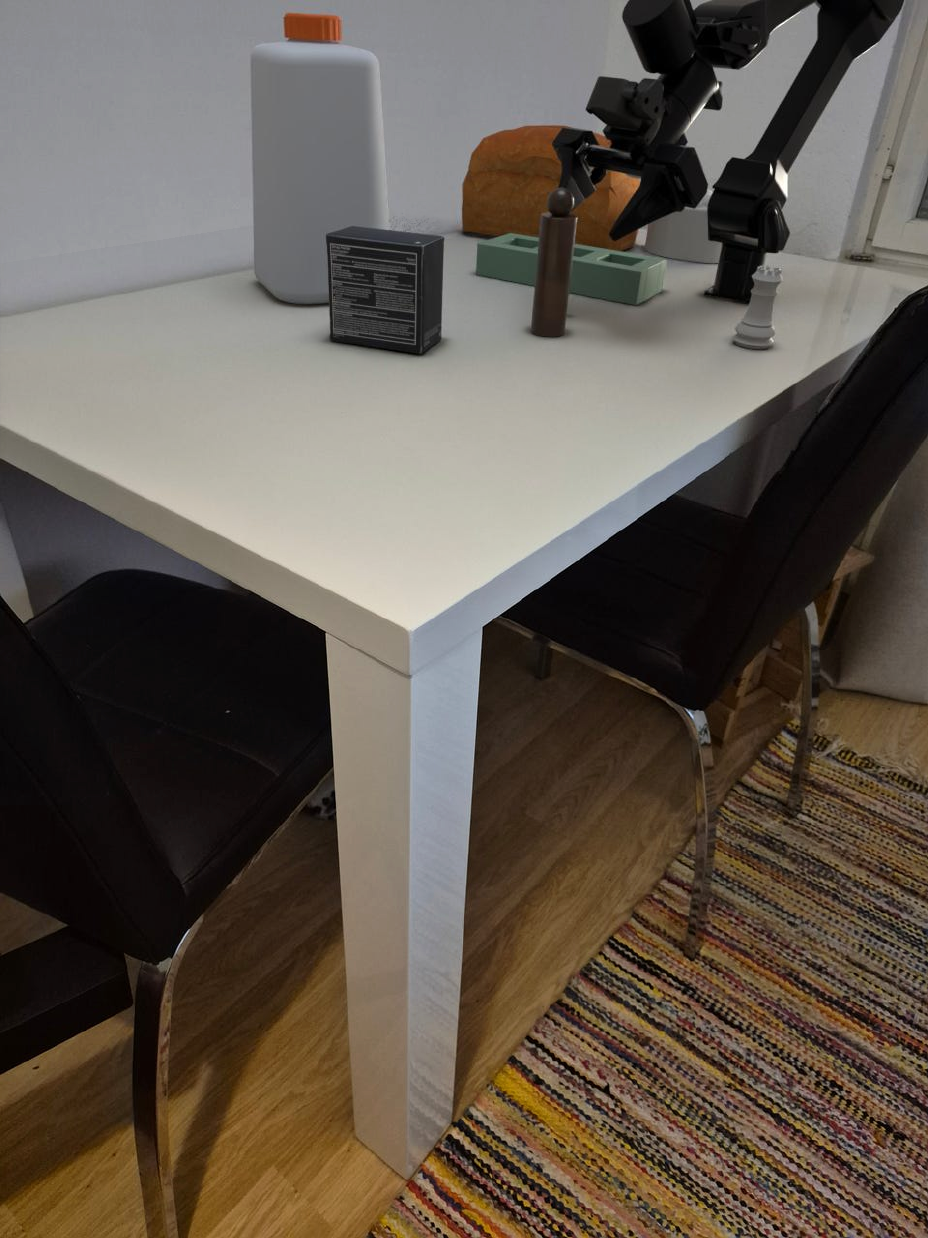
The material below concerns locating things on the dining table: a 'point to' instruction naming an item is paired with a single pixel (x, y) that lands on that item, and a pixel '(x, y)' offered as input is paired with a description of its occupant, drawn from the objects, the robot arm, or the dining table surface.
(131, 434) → the dining table surface
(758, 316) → the rook chess piece
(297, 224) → the plastic bottle
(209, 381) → the dining table surface
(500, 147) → the bread
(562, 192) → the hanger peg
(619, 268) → the green three-slot holder
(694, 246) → the lumpy-topped squat cylinder
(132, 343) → the dining table surface
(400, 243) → the small box
